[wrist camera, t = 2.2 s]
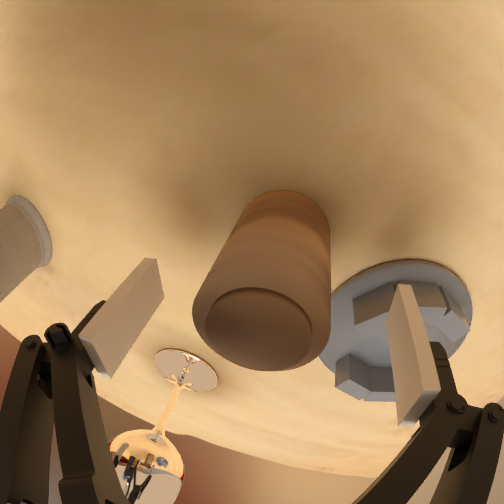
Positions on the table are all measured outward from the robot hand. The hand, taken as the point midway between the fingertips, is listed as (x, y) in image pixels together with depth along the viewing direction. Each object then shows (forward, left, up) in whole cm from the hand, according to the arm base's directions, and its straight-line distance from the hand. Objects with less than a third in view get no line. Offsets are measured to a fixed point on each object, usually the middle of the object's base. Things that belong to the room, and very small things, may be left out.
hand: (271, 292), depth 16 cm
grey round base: (+8, +10, -6) cm, 14 cm away
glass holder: (+3, -30, -6) cm, 31 cm away
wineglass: (+18, -10, -6) cm, 21 cm away
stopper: (0, 0, -6) cm, 6 cm away
